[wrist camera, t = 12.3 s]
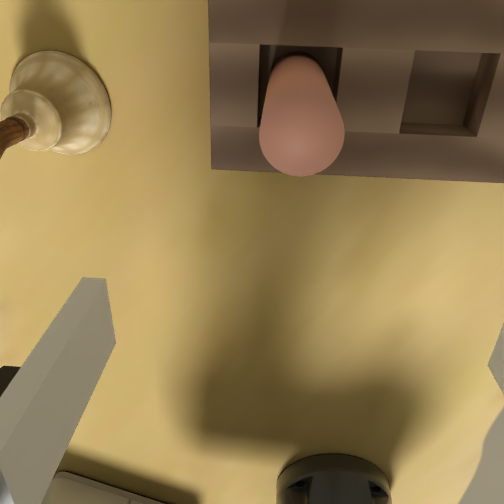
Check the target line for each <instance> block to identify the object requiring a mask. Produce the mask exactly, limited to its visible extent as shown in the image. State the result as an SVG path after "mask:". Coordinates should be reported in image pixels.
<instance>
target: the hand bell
mask: <svg viewBox="0 0 504 504" xmlns="http://www.w3.org/2000/svg"><path fill="white" fill-rule="evenodd" d="M1 120H2V121H1V122H0V158H1V157H2V155H3V153H4V151H5V150H6V149H7V148H8V147H10V146H12V145H14V144H17V143H18V144H19V145H21V146H22V147H25V148H27V149H30V150H34V151H44V150H48V149H49V150H51V151H54V152H58V153H62V154H70V155H73V154H82V153H85V152H88V151H90V150H92V149H94V148H95V147H97V146H98V145H99V144H100V143H101V142H102V140H103V139H104V138H105V136H106V135H107V133H108V130H109V127H110V122H111V106H110V101H109V97H108V95H107V92H106V90H105V88H104V86H103V84H102V83H101V81H100V79H99V78H98V77H97V75H96V74H95V73H94V72H93V71H92V70H91V69H90V68H89V67H88V66H87V65H86V64H85V63H83V62H82V61H80V60H79V59H77V58H76V57H74V56H71V55H69V54H66V53H64V52H60V51H51V50H47V51H39V52H35V53H33V54H31V55H28V56H27V57H26V58H24V59H23V60H22V61H21V62H20V63H19V64H18V66H17V67H16V69H15V70H14V72H13V75H12V78H11V82H10V91H9V95H7V96H6V98H5V99H4V101H3V103H2V106H1Z"/></svg>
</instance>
